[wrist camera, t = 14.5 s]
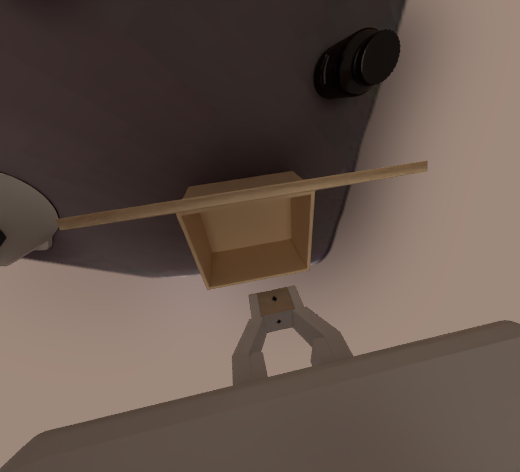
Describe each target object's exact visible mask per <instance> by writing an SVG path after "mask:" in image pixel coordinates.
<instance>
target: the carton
mask: <svg viewBox="0 0 520 472" xmlns="http://www.w3.org/2000/svg"><path fill="white" fill-rule="evenodd" d="M302 180H303V179H301V178H300V177H299V176H298V175H297V174H296V173H294V172H293V171H288V172H282V173H275V174H269V175H262V176H256V177H249V178H242V179H236V180H229V181H223V182H216V183H210V184H203V185H197V186H190V187H188V189H187V191H186V193H185V195H184V197H183V199H187V198H194V197H200V196H206V195H213V194H219V193H225V192H232V191H238V190H245V189H251V188H257V187H264V186H270V185H276V184H283V183H289V182H295V181H302ZM314 198H315V191H308V192H302V193H296V194H290V195H284V196H278V197H271V198H265V199H259V200H253V201H247V202H241V203H235V204H228V205H222V206H216V207H210V208H204V209H198V210H191V211H185V212H179V213H176V215H177V218H178V220H179V222H180V225H181V227H182V230H183V232H184V235H185V237H186V240H187V242H188V244H189V247H190V249H191V252H192V254H193V257H194V259H195V261H196V264H197V266H198V269H199V271H200V274H201V276H202V278H203V281H204V283H205V286H206V288H207V290H210V289H215V288H220V287H225V286H230V285H235V284H240V283H245V282H251V281H256V280H262V279H267V278H272V277H277V276H282V275H287V274H292V273H298V272H303V271H308V270H310V256H311V242H312V227H313V212H314Z"/></svg>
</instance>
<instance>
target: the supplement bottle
mask: <svg viewBox="0 0 520 472" xmlns="http://www.w3.org/2000/svg"><path fill="white" fill-rule="evenodd" d="M399 53H400V41H399V38H398V36H397V34H396V33H394V31H391V30H390V29H389V30H387V29H385V30H381V31H379V30H377V29H375V28H364V29H361V30H359V31H357V32H355V33H353V34H352V35H350V36H348V37H347V38H345V39H343V40H341V41H340V42H338V43H336V44H335V45H333V46H331V47H330V48H328V49H327V50H326V51H325V52H324V53H323V54H322V55H321V57H320V59H319V60H318V63H317V65H316V68H315V73H314V82H315V87H316V89H317V91H318V93H319V94H320V95H321V96H322V97H324V98H327V99H335V98H346V97H356V96H360V95H362V94H364V93H366V92H368V91H369V90H370V89H371V88H372V87H373V86H374V85H375V84H379V83H380V82H383V81H384V80H385V79H387V77H388V76H389V75H390V74H391V72H393V69H394V68H395V66H396V63H397V62H398V58H399Z"/></svg>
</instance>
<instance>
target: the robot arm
mask: <svg viewBox="0 0 520 472" xmlns="http://www.w3.org/2000/svg"><path fill="white" fill-rule="evenodd" d="M56 219H58V215H57V213H56V211H55V209H54V207H53V206H52V205H51V203H50V202H49V201H48V200H47V199H46V198H45V197H44V196H43V195H42V194H41V193H39V192H38V191H37V190H35V189H34V188H33V187H31V186H29V185H28V184H26V183H24V182H22V181H20V180H18V179H16V178H14V177H12V176H9V175H6V174H3V173H0V266H8V265H10V264H12V263H14V262H15V261H17V260H19V259H20V258H22V257H24V256H25V255H27V254H28V253H30V252H32V251H33V250H47V249H49V248H50V247H51V246H52V237H53V235H54V234H55V232H56V231H57V229H58V224H57V221H56ZM249 302H250V310H251V317H252V319H249V321H248V323H247V326H246V328H245V330H244V332H243V334H242V337H241V338H240V341H239V343H238V345H237V347H236V349H235V351H234V354H233V356H232V370H233V386H230V387H226V388H222V389H218V390H213V391H210V392H206V393H201V394H197V395H193V396H189V397H185V398H181V399H177V400H173V401H168V402H164V403H160V404H156V405H152V406H147V407H143V408H139V409H135V410H131V411H127V412H123V413H119V414H115V415H111V416H106V417H102V418H98V419H95V420H90V421H86V422H82V423H78V424H74V425H70V426H65V427H61V428H57V429H52V430H49V431H45V432H43V433H40V434H38V435H37V436H35V437H34V438H33V439H31V440H30V441H29V442H28V443H27V444H26V445H25V446H23V447H22V448H21V449H20V450H19V451H18V452H17V453H16V454H15V455H14V456H13V457H12V458H11V459H10V460H9V461H8V462H7V463H5V464H4V465H3V466H2V467H1V468H0V472H520V324H518V323H516V322H512V321H506V320H505V321H498V322H494V323H490V324H486V325H482V326H477V327H473V328H469V329H465V330H461V331H457V332H453V333H448V334H444V335H440V336H436V337H432V338H428V339H424V340H420V341H415V342H411V343H407V344H403V345H399V346H395V347H391V348H387V349H383V350H378V351H374V352H370V353H366V354H362V355H358V356H354V357H353V355H352V353H351V351H350V349H349V347H348V346H347V344H346V342H345V340H344V338H343V336H342V335H341V333H340V331H338V330H337V329H336V328H334V327H333V326H331V325H330V324H329V323H327V322H326V321H325V320H323V319H322V318H321V317H319V316H318V315H317V314H315V313H314V312H313V311H311V310H310V309H309V308H307V307H304V305H303V303H302V301H301V298H300V296H299V294H298V291H297V289H296V287H295V286H289V287H284V288H279V289H275V290H272V291H266V292H261V293H255V294H251V295H249ZM291 327H293V328H294V329H295V330H296V331H297V332H298V333H299V334H300V335H301V336H302V337H303V338H304V339H305V340H306V341H307V342H308V343H309V345H310V346H311V347H312V355H311V364H312V367H308V368H304V369H300V370H296V371H292V372H287V373H283V374H279V375H275V376H271V377H268V376H267V371H266V366H265V362H264V357H263V353H262V352H261V350H262V347H263V344H264V341H265V338H266V333H269V332H272V331H277V330H281V329H286V328H291Z"/></svg>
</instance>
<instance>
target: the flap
mask: <svg viewBox="0 0 520 472" xmlns="http://www.w3.org/2000/svg"><path fill="white" fill-rule="evenodd" d="M425 171H427V161H423V162H416V163H410V164H403V165H397V166H390V167H384V168H378V169H371V170H365V171H359V172H352V173H346V174H340V175H333V176H327V177H321V178H314V179H308V180H302V181H295V182H289V183H283V184H276V185H270V186H264V187H257V188H251V189H245V190H238V191H232V192H225V193H219V194H213V195H206V196H200V197H194V198H187V199H181V200H175V201H168V202H162V203H156V204H149V205H143V206H137V207H130V208H124V209H118V210H111V211H105V212H99V213H92V214H86V215H80V216H73V217H67V218H61V219H56V221H57V224H58V226H59V229H60V231H61V230H68V229H75V228H81V227H88V226H94V225H101V224H107V223H114V222H120V221H127V220H133V219H140V218H147V217H153V216H160V215H166V214H173V213H179V212H185V211H191V210H198V209H204V208H210V207H216V206H222V205H228V204H235V203H241V202H247V201H253V200H259V199H265V198H271V197H278V196H284V195H290V194H296V193H302V192H308V191H315V190H320V189H326V188H332V187H338V186H344V185H350V184H355V183H361V182H367V181H373V180H379V179H385V178H391V177H397V176H402V175H408V174H414V173H420V172H425Z"/></svg>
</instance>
